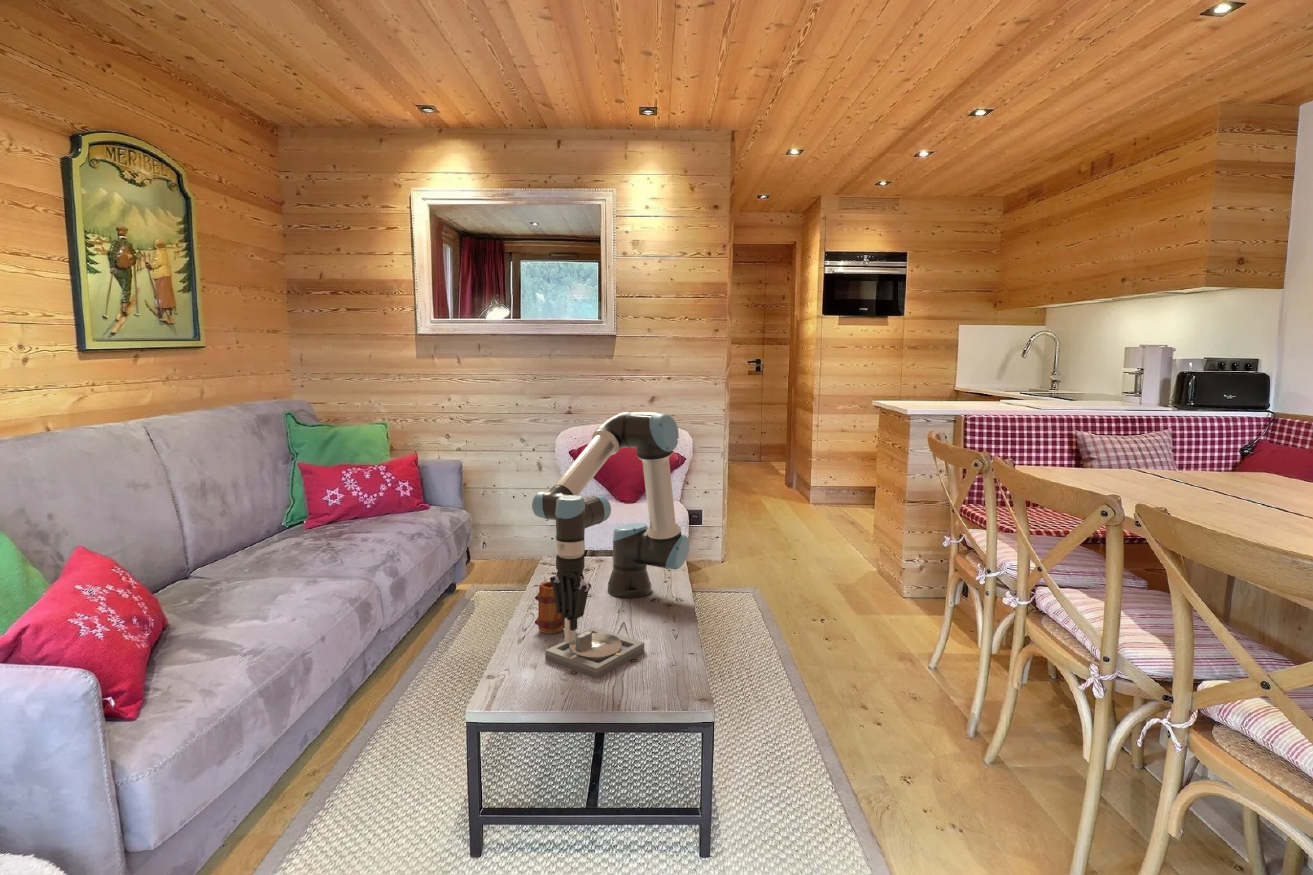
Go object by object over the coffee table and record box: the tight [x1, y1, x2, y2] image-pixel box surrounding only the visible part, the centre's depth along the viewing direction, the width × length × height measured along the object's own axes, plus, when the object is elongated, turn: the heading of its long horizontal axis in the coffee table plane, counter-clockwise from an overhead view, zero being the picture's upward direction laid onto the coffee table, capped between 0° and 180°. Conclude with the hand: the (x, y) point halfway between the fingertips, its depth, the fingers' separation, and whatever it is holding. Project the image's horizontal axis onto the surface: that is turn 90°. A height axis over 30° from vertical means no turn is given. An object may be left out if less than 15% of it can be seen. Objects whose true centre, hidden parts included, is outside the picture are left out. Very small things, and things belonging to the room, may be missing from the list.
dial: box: [570, 630, 622, 662], centre depth 185 cm, size 14×14×6 cm
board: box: [544, 626, 645, 680], centre depth 185 cm, size 20×18×3 cm
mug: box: [534, 581, 565, 635], centre depth 202 cm, size 15×8×15 cm, turn 105°
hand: (570, 640), depth 183 cm, fingers closed
